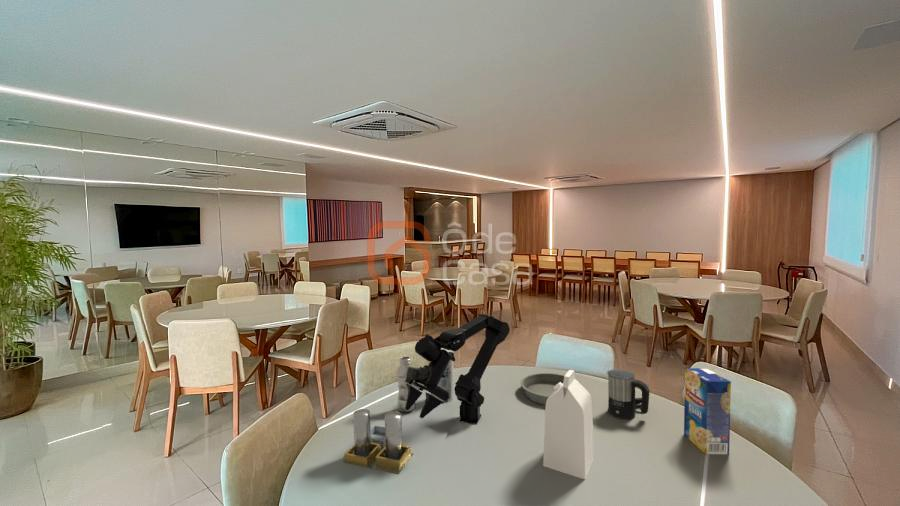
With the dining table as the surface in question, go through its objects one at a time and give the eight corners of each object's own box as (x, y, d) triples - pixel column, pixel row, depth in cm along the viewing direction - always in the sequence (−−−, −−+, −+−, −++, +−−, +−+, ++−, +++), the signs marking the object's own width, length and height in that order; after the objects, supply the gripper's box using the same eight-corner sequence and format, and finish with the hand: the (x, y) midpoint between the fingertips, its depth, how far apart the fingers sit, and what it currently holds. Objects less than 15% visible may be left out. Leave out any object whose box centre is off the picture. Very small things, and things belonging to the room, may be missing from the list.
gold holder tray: (413, 456, 110) (413, 447, 110) (398, 477, 100) (398, 467, 100) (361, 446, 116) (361, 437, 116) (342, 465, 106) (342, 455, 106)
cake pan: (534, 378, 169) (534, 368, 169) (589, 391, 155) (590, 380, 154) (510, 397, 149) (510, 387, 149) (571, 414, 135) (571, 402, 134)
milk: (585, 479, 99) (585, 384, 97) (543, 465, 105) (543, 376, 103) (594, 456, 109) (594, 370, 108) (555, 445, 115) (555, 363, 114)
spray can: (435, 400, 147) (434, 351, 146) (441, 393, 153) (441, 346, 152) (450, 403, 145) (449, 353, 144) (456, 396, 151) (455, 348, 150)
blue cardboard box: (705, 434, 120) (706, 368, 119) (729, 454, 109) (731, 381, 108) (683, 434, 120) (684, 368, 119) (705, 454, 109) (707, 381, 108)
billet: (403, 453, 110) (402, 410, 109) (401, 463, 105) (400, 419, 104) (387, 453, 110) (386, 411, 109) (384, 463, 105) (383, 419, 104)
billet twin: (374, 452, 111) (373, 410, 110) (365, 461, 106) (364, 417, 105) (360, 449, 112) (359, 408, 112) (351, 458, 108) (350, 415, 107)
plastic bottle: (412, 415, 135) (411, 361, 134) (394, 413, 137) (393, 360, 136) (417, 407, 142) (416, 355, 141) (400, 405, 143) (399, 355, 142)
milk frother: (606, 416, 132) (607, 376, 132) (607, 398, 147) (607, 362, 146) (651, 424, 127) (652, 382, 126) (647, 404, 141) (647, 366, 140)
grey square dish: (395, 437, 120) (395, 428, 120) (383, 450, 113) (383, 440, 113) (374, 433, 123) (374, 424, 123) (362, 446, 116) (362, 436, 116)
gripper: (405, 351, 125) (381, 395, 119) (434, 360, 109) (408, 411, 103) (428, 366, 129) (406, 409, 123) (459, 377, 114) (436, 426, 108)
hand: (413, 413), depth 114 cm, fingers open, 9 cm apart
